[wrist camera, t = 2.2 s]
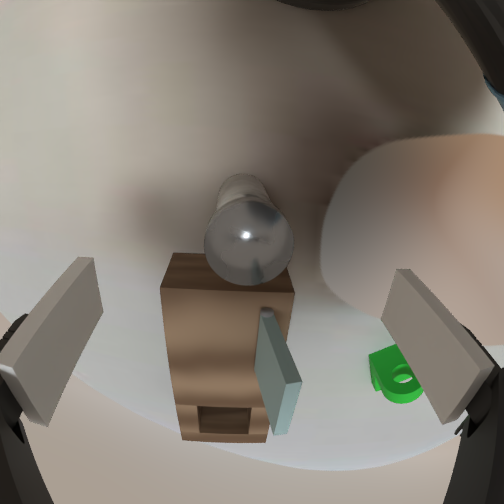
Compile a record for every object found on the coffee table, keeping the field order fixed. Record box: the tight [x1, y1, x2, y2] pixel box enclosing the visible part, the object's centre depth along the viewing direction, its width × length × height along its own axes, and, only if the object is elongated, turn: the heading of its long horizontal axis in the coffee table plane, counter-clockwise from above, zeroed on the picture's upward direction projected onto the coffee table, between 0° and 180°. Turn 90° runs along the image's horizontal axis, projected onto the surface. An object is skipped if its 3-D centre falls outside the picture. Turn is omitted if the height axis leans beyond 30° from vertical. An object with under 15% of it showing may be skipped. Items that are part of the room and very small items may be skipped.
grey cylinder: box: [204, 174, 294, 286], centre depth 21 cm, size 5×5×10 cm
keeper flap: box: [254, 307, 302, 436], centre depth 21 cm, size 6×1×8 cm, turn 176°
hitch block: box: [160, 253, 295, 443], centre depth 30 cm, size 22×10×6 cm, turn 176°
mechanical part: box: [369, 344, 424, 404], centre depth 32 cm, size 12×6×8 cm, turn 109°
